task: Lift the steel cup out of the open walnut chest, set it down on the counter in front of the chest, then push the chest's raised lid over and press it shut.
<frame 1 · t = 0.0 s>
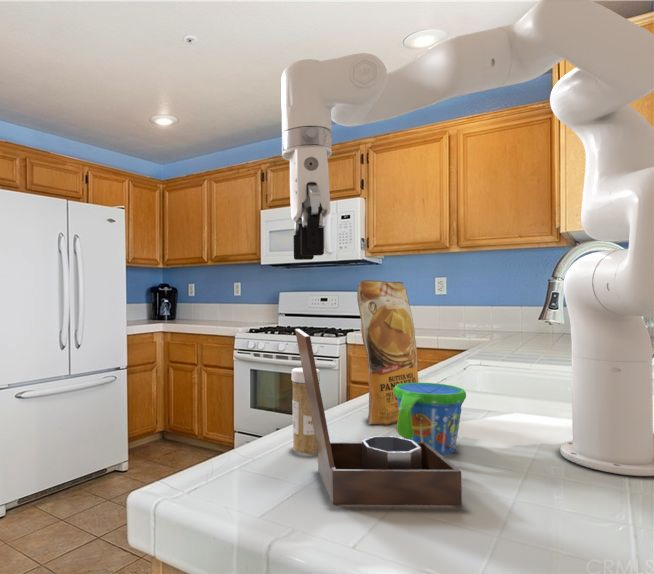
hand: (307, 257, 75), 31 cm above the countertop, tool pointing down, fingers open, 9 cm apart
chest: (383, 490, 64), on the countertop
lid: (313, 392, 64), point 13 cm above the countertop, hinge at 100.0°
sprinkles bottle: (306, 453, 79), on the countertop
steel cup: (391, 485, 64), point 1 cm above the countertop, touching chest
pancake mix bag: (391, 418, 100), on the countertop
snack cup: (429, 451, 80), on the countertop
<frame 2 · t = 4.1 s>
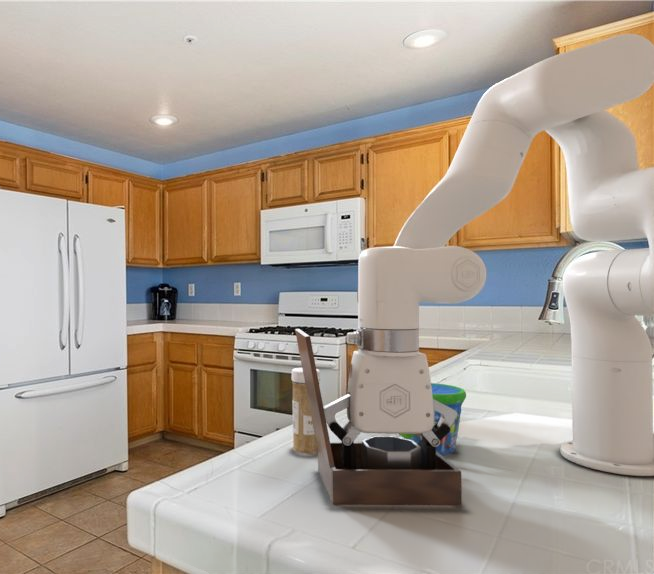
hand: (387, 473, 64), 2 cm above the countertop, tool pointing down, fingers open, 9 cm apart
nothing on the countertop moved.
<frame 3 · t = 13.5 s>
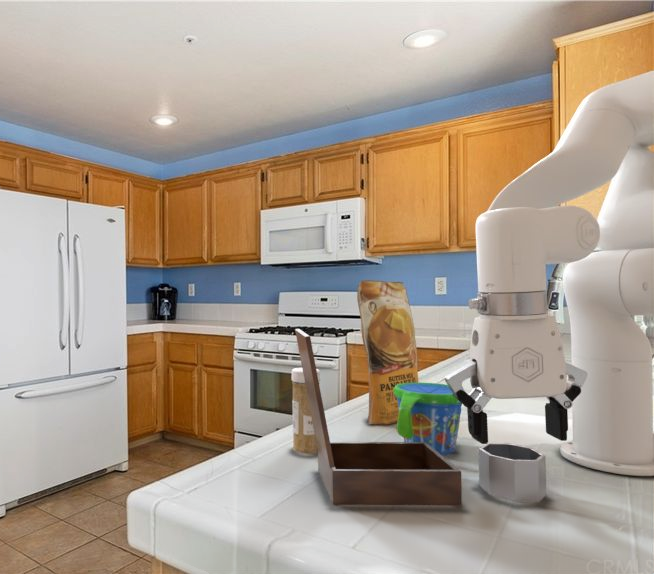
hand: (517, 438, 63), 7 cm above the countertop, tool pointing down, fingers open, 9 cm apart
steel cup: (511, 494, 62), on the countertop
everything else where it was.
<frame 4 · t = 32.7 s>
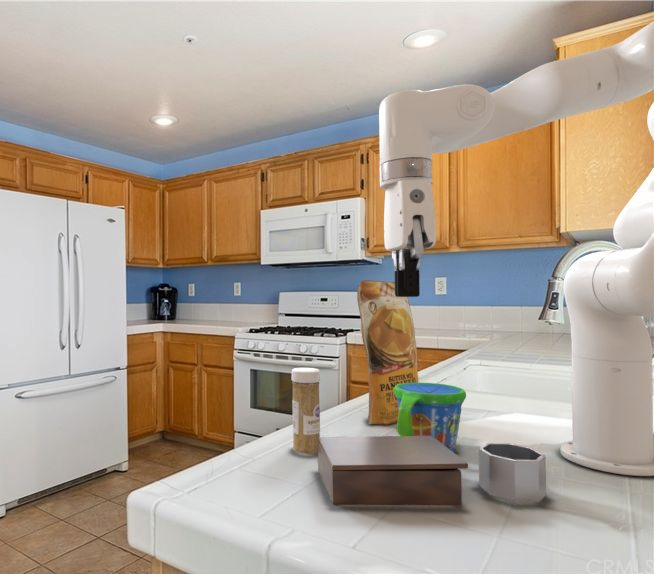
hand: (407, 296, 75), 25 cm above the countertop, tool pointing down, fingers closed
lid: (386, 451, 64), point 5 cm above the countertop, hinge at 1.0°
everything else where it was.
at the end: steel cup inside the target area (0.2 cm from its centre), on the countertop; steel cup tilted 0°; lid at +1° (first picture: +100°) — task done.
